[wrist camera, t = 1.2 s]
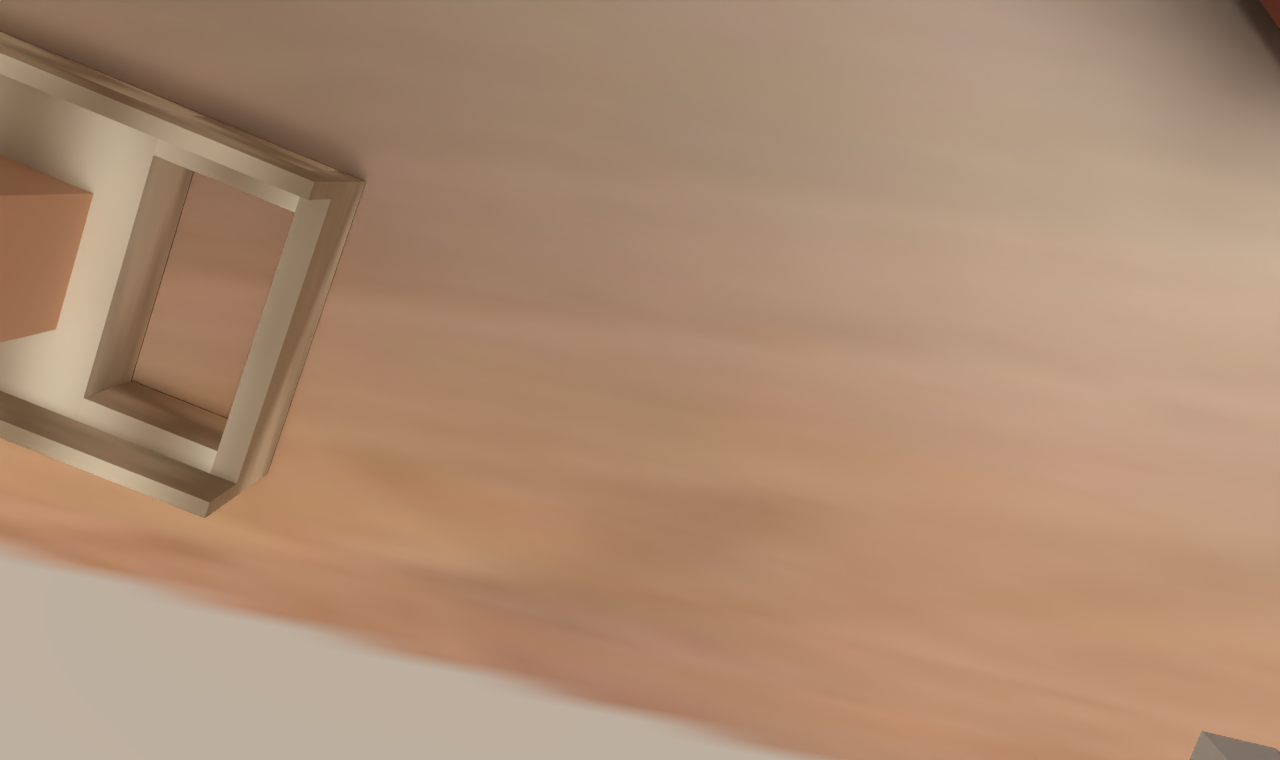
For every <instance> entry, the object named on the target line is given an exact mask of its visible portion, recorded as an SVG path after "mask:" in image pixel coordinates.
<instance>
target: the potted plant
mask: <svg viewBox="0 0 1280 760" xmlns="http://www.w3.org/2000/svg"><path fill="white" fill-rule="evenodd" d="M1260 2H1261V3H1262V5H1263V6H1264V7H1265V9H1266V10H1267V12H1268V13H1269V15H1270V16H1271V17H1272V19H1273V20H1274V22H1275V23H1276V25H1277V26H1278V28H1279V29H1280V0H1260Z"/></svg>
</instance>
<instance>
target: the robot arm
mask: <svg viewBox="0 0 1280 760" xmlns="http://www.w3.org/2000/svg"><path fill="white" fill-rule="evenodd" d="M1190 760H1280V752H1279V751H1278V750H1277V749H1276V748H1272V747H1268V746H1264V745H1259V744H1255V743H1251V742H1246V741H1242V740H1238V739H1234V738H1229V737H1225V736H1221V735H1216V734H1212V733H1208V732H1204V731H1202V732H1201V734H1200V737H1199V739H1198V741H1197V744H1196V746H1195V749H1194V751H1193V753H1192V756H1191V758H1190Z"/></svg>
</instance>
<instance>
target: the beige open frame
mask: <svg viewBox="0 0 1280 760" xmlns="http://www.w3.org/2000/svg"><path fill="white" fill-rule="evenodd" d="M0 156H2V157H5V158H7V159H10V160H12V161H15V162H17V163H20V164H22V165H24V166H27V167H29V168H32V169H34V170H37V171H39V172H42V173H44V174H47V175H49V176H52V177H54V178H56V179H59V180H61V181H64V182H66V183H69V184H71V185H74V186H76V187H79V188H81V189H84V190H86V191H88V192H91V193H93V198H92V201H91V205H90V209H89V212H88V216H87V219H86V223H85V227H84V230H83V234H82V237H81V241H80V245H79V248H78V252H77V255H76V259H75V263H74V266H73V270H72V273H71V277H70V281H69V284H68V288H67V291H66V295H65V299H64V302H63V306H62V309H61V313H60V317H59V320H58V324H57V328H56V330H51V331H47V332H43V333H39V334H35V335H30V336H26V337H22V338H18V339H14V340H10V341H5V342H1V343H0V438H2V439H5V440H7V441H10V442H12V443H15V444H17V445H20V446H23V447H25V448H28V449H30V450H33V451H35V452H38V453H40V454H43V455H45V456H48V457H50V458H53V459H56V460H58V461H61V462H63V463H66V464H68V465H71V466H73V467H76V468H78V469H81V470H84V471H86V472H89V473H91V474H94V475H96V476H99V477H101V478H104V479H106V480H109V481H111V482H114V483H117V484H119V485H122V486H124V487H127V488H129V489H132V490H134V491H137V492H139V493H142V494H145V495H147V496H150V497H152V498H155V499H157V500H160V501H162V502H165V503H167V504H170V505H172V506H175V507H178V508H180V509H183V510H185V511H188V512H190V513H193V514H195V515H198V516H200V517H203V518H206V517H207V516H208V515H210V514H211V513H213V512H214V511H215V510H217V509H218V508H220V507H221V506H222V505H224V504H225V503H227V502H228V501H229V500H231V499H232V498H234V497H235V496H236V495H238V494H239V493H241V492H242V491H243V490H245V489H246V488H248V487H249V486H250V485H252V484H253V483H255V482H256V481H257V480H259V479H260V478H262V477H263V476H264V475H266V474H267V472H268V469H269V466H270V463H271V460H272V457H273V454H274V451H275V448H276V445H277V442H278V440H279V437H280V434H281V431H282V428H283V425H284V422H285V419H286V416H287V413H288V410H289V407H290V404H291V401H292V398H293V395H294V392H295V389H296V386H297V383H298V380H299V377H300V374H301V371H302V369H303V366H304V363H305V360H306V357H307V354H308V351H309V348H310V345H311V342H312V339H313V336H314V333H315V330H316V327H317V324H318V321H319V318H320V315H321V312H322V309H323V306H324V303H325V300H326V298H327V295H328V292H329V289H330V286H331V283H332V280H333V277H334V274H335V271H336V268H337V265H338V262H339V259H340V256H341V253H342V250H343V247H344V244H345V241H346V238H347V235H348V232H349V229H350V227H351V224H352V221H353V218H354V215H355V212H356V209H357V206H358V203H359V200H360V197H361V194H362V191H363V188H364V185H365V181H362V180H360V179H357V178H355V177H353V176H350V175H348V174H345V173H343V172H340V171H338V170H336V169H333V168H331V167H328V166H326V165H324V164H321V163H319V162H316V161H314V160H311V159H309V158H307V157H304V156H302V155H299V154H297V153H294V152H292V151H290V150H287V149H285V148H282V147H280V146H277V145H275V144H273V143H270V142H268V141H265V140H263V139H260V138H258V137H256V136H253V135H251V134H248V133H246V132H243V131H241V130H239V129H236V128H234V127H231V126H229V125H226V124H224V123H222V122H219V121H217V120H214V119H212V118H209V117H207V116H205V115H202V114H200V113H197V112H195V111H193V110H190V109H188V108H185V107H183V106H180V105H178V104H176V103H173V102H171V101H168V100H166V99H163V98H161V97H159V96H156V95H154V94H151V93H149V92H146V91H144V90H142V89H139V88H137V87H134V86H132V85H129V84H127V83H125V82H122V81H120V80H117V79H115V78H112V77H110V76H108V75H105V74H103V73H100V72H98V71H95V70H93V69H91V68H88V67H86V66H83V65H81V64H78V63H76V62H74V61H71V60H69V59H66V58H64V57H62V56H59V55H57V54H54V53H52V52H49V51H47V50H45V49H42V48H40V47H37V46H35V45H32V44H30V43H28V42H25V41H23V40H20V39H18V38H15V37H13V36H11V35H8V34H6V33H3V32H1V31H0ZM193 172H196V173H199V174H201V175H204V176H206V177H209V178H211V179H214V180H216V181H218V182H221V183H223V184H226V185H228V186H231V187H233V188H236V189H238V190H240V191H243V192H245V193H248V194H250V195H253V196H255V197H257V198H260V199H262V200H265V201H267V202H270V203H272V204H275V205H277V206H279V207H282V208H284V209H287V210H289V211H292V212H294V213H295V214H294V217H293V220H292V223H291V226H290V229H289V232H288V235H287V238H286V241H285V244H284V247H283V251H282V254H281V257H280V260H279V263H278V266H277V269H276V272H275V275H274V278H273V281H272V284H271V288H270V291H269V294H268V297H267V300H266V303H265V306H264V309H263V312H262V315H261V318H260V321H259V325H258V328H257V331H256V334H255V337H254V340H253V343H252V346H251V349H250V352H249V355H248V358H247V362H246V365H245V368H244V371H243V374H242V377H241V380H240V383H239V386H238V389H237V392H236V395H235V399H234V402H233V405H232V408H231V411H230V414H229V417H228V419H226V418H224V417H221V416H219V415H216V414H214V413H211V412H209V411H206V410H204V409H201V408H199V407H196V406H194V405H191V404H189V403H186V402H184V401H181V400H179V399H176V398H174V397H171V396H169V395H166V394H163V393H161V392H158V391H156V390H153V389H151V388H148V387H146V386H143V385H141V384H138V383H136V382H133V381H131V379H132V376H133V373H134V369H135V366H136V362H137V359H138V356H139V352H140V349H141V346H142V342H143V339H144V336H145V332H146V329H147V326H148V322H149V319H150V316H151V312H152V309H153V306H154V302H155V299H156V295H157V292H158V289H159V285H160V282H161V279H162V275H163V272H164V269H165V265H166V262H167V259H168V255H169V252H170V249H171V245H172V242H173V239H174V235H175V232H176V228H177V225H178V222H179V218H180V215H181V212H182V208H183V205H184V202H185V198H186V195H187V192H188V188H189V185H190V182H191V178H192V175H193Z"/></svg>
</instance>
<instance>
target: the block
mask: <svg viewBox="0 0 1280 760" xmlns="http://www.w3.org/2000/svg"><path fill="white" fill-rule="evenodd" d="M92 198H93V193H91V192H88V191H86V190H84V189H81V188H79V187H76V186H74V185H71V184H69V183H66V182H64V181H61V180H59V179H56V178H54V177H52V176H49V175H47V174H44V173H42V172H39V171H37V170H34V169H32V168H29V167H27V166H24V165H22V164H20V163H17V162H15V161H12V160H10V159H7V158H5V157H2V156H0V343H1V342H5V341H10V340H14V339H18V338H22V337H26V336H30V335H35V334H39V333H43V332H47V331H51V330H56V328H57V324H58V320H59V317H60V313H61V309H62V306H63V302H64V299H65V295H66V291H67V288H68V284H69V281H70V277H71V273H72V270H73V266H74V263H75V259H76V255H77V252H78V248H79V245H80V241H81V237H82V234H83V230H84V227H85V223H86V219H87V216H88V212H89V209H90V205H91V201H92Z"/></svg>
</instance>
